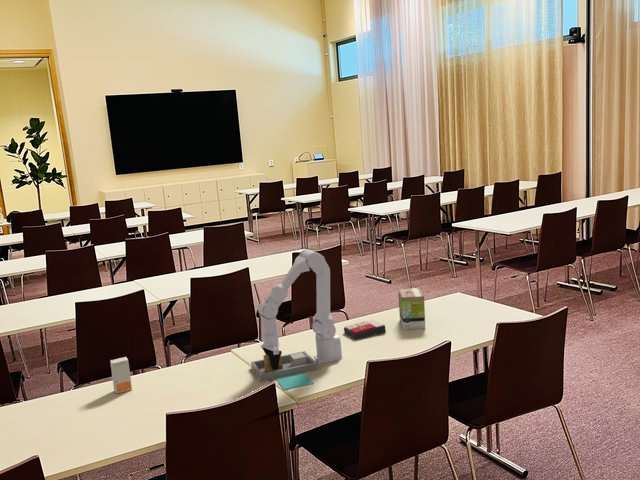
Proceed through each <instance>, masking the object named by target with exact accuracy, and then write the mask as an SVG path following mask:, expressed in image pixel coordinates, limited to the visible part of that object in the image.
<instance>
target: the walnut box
mask: <svg viewBox="0 0 640 480" xmlns="http://www.w3.org/2000/svg"><path fill="white" fill-rule="evenodd" d="M282 356H283V355H281V356H280V359H279V366H278V369H275V370H273V369H272V367H271V363H270V359H269V357H268V355H266V354H264V355H263V357H262V358H263V359H264V366H265V371H266V373H267V372H272V371H277V370H281V369H283V365H282Z"/></svg>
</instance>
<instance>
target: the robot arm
mask: <svg viewBox="0 0 640 480" xmlns="http://www.w3.org/2000/svg"><path fill="white" fill-rule="evenodd" d="M310 270H312V272H314V273H315V276H316V283H315V284H316V286H315V287H316V288H315V289H316V313H315V314H314V316H313V318H314V319H313V321H312V324H311V329H312V331H313V332H314V333H315V345H316V346H315V347H316V355H314V356H313V357H314V360H316V362H318V363H319V364H324V363H327V362H328V363H329V362H334V361H338V360H342V359H343V354H342V353H343V352H342V343H341V339H340V336H339V335H338V334H336V332H337V331H336V330H337V329H336V328H337V327H336V326H335V323H334V322H335V321H334V319H333V316H332V314H331V268H330V266H329V264H328V263H327V261H326V259H325V256H323V255H322V254H321V253H319V252H318V251H317V252H316V251H313V250H311V249H307V248H306V249H303V250H301V251H300V253H299V254H298V256H297V257H296V258H295V259H294V262H293V264H292V265H291V267H290V268H289V270H288V272H287V274H286V275H285V276H284V278H283V280H282V281H281V283H279V284H276V285H275V286H272V287H271V291H270V292H269V294H268V296H267V297H265V298H264V300H263V301H261V302H260V303H259V305H258V308H257V313H258V314H259V315H260V321H261V322H260V323H261V324H260V325H261V333H262V340H263V341H262V344H260V348H261V349H262V350H263V352H264V355H268V357H269V359H270V363H271V367H272V369H273V370H275V369H278V366H279V359H280V356H282V353H283V352H282V350H279V349H280V348H279V347H280V341H279V334H278V323H277V315H278V313H279V307H280V306H281V305H282V303H283V302H284V301H285V299H286V297H287V296H288V295H289V288H290V287H291V286H292V284H294V283H295V281H296V280H297V278H299V276H300V275H301V274H302V273H305V272H310Z"/></svg>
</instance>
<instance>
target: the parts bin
mask: <svg viewBox="0 0 640 480" xmlns="http://www.w3.org/2000/svg"><path fill="white" fill-rule="evenodd" d="M298 353H303V354H304V355H305V356H306V360H307V364H306V365H301V366H296V367H292V365H291V360H290V355H293V354H298ZM281 356H282V365H283V369H281V370H277V371H272V372H267V373H266V371H265V366H264V358H263V359H259V360H254V361H250V365H251V369H252V371H253V372H254V374H255V375H256V376H257V378H258V380H259V382H265V381H271V380H274V379H275V380H276V379H277V378H282V377H287V376H291V375H296V374H301V373H308V372H314V371H317V370H318V363H317V361H315V359H313V358H312V356H311V355H310V354H308V353H307V352H306V351H305V350H304V351H300V352H294V353H289V354H283V355H281Z"/></svg>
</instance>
